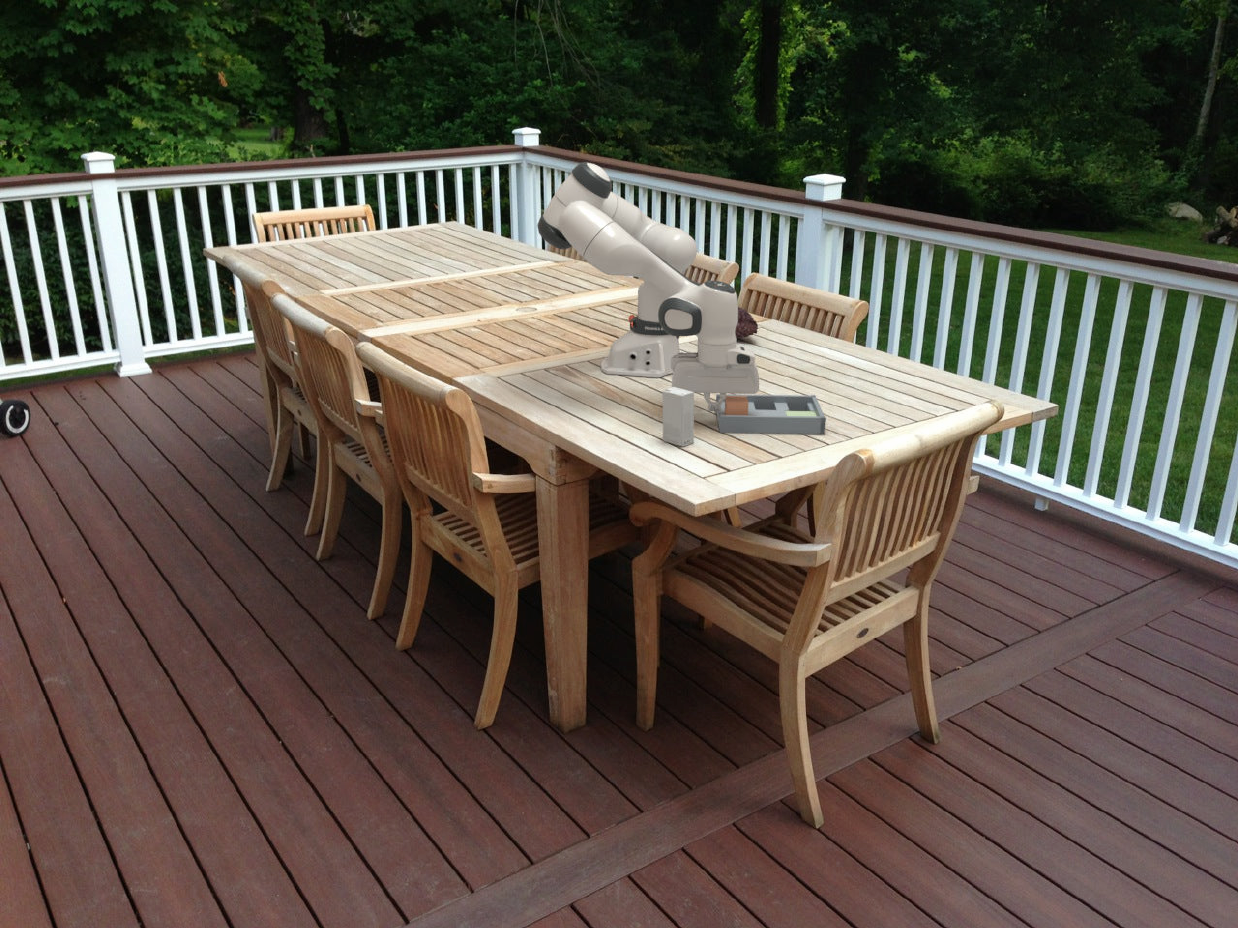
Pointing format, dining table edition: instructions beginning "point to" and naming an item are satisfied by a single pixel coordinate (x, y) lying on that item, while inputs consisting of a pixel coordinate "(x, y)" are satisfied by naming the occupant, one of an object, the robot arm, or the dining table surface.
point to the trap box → (775, 415)
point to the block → (736, 405)
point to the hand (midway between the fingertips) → (714, 410)
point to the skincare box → (678, 416)
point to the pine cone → (745, 324)
